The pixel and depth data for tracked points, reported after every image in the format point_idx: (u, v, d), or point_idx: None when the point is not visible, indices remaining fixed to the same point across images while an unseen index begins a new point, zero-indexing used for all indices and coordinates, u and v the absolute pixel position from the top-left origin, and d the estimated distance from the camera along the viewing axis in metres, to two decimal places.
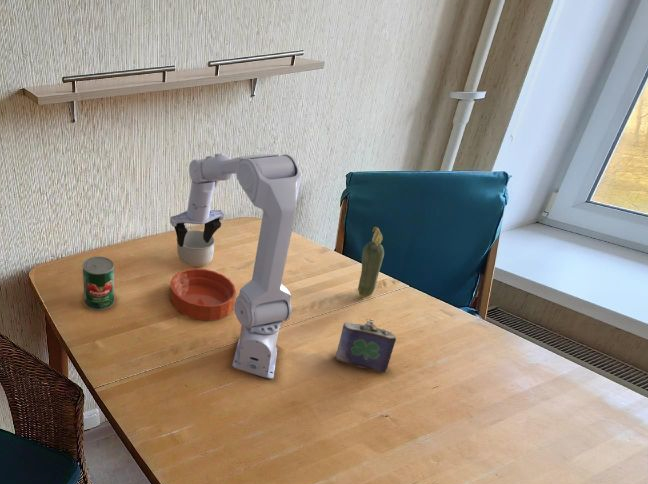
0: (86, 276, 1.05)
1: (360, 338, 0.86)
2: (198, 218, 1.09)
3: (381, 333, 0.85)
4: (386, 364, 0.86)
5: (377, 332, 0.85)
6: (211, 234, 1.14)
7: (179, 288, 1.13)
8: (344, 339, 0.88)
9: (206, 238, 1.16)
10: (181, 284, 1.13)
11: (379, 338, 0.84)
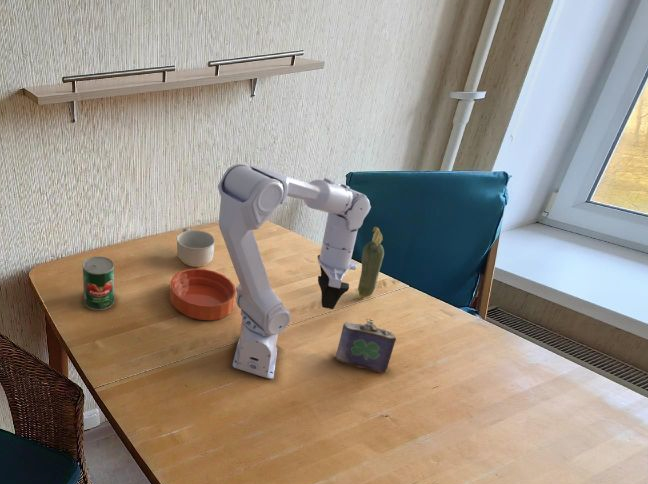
0: (86, 276, 1.05)
1: (360, 338, 0.86)
2: None
3: (381, 333, 0.85)
4: (386, 364, 0.86)
5: (377, 332, 0.85)
6: None
7: (179, 288, 1.13)
8: (344, 339, 0.88)
9: None
10: (181, 284, 1.13)
11: (379, 338, 0.84)
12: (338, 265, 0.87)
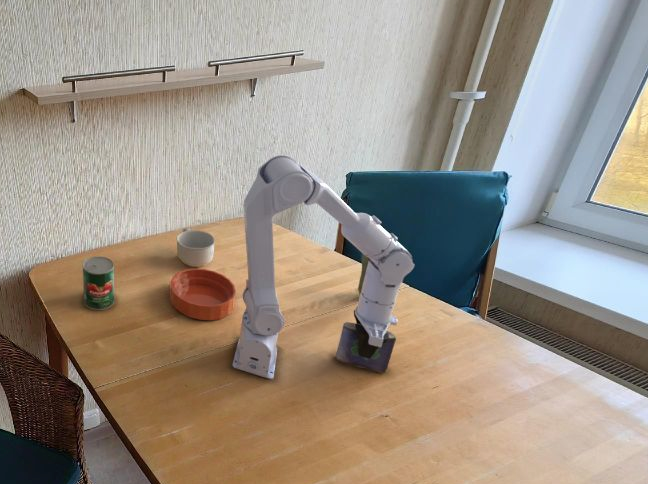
0: (86, 276, 1.05)
1: None
2: None
3: None
4: (386, 364, 0.86)
5: None
6: (358, 341, 0.86)
7: (179, 288, 1.13)
8: (344, 339, 0.88)
9: None
10: (181, 284, 1.13)
11: None
12: (378, 320, 0.82)
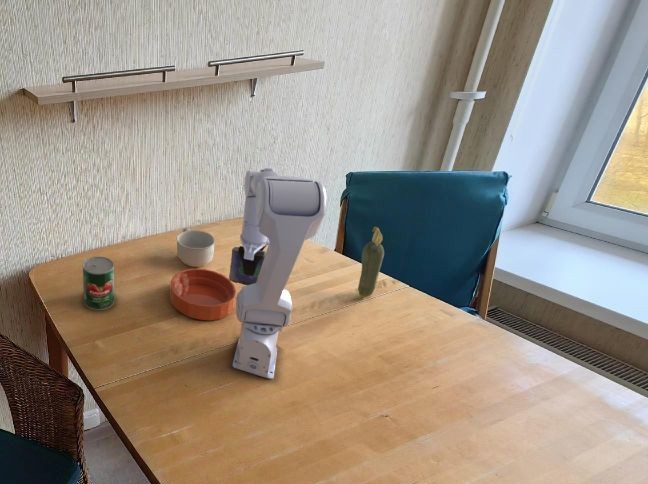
0: (86, 276, 1.05)
1: None
2: None
3: None
4: None
5: None
6: None
7: (179, 288, 1.13)
8: (233, 261, 1.03)
9: None
10: (181, 284, 1.13)
11: None
12: (254, 240, 0.97)
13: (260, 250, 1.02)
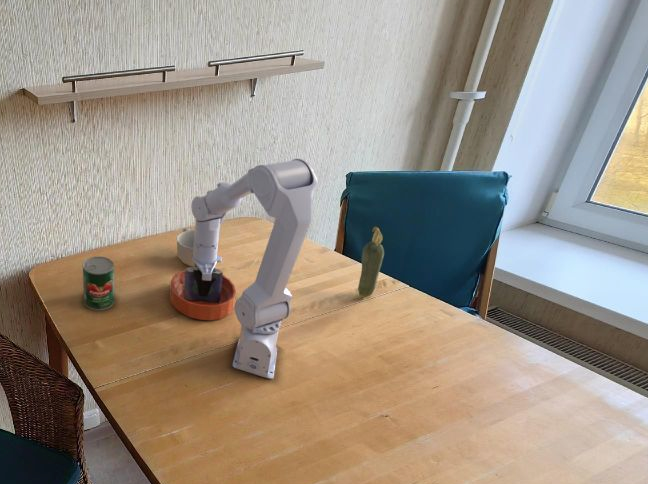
0: (86, 276, 1.05)
1: None
2: None
3: (212, 271, 1.06)
4: (218, 295, 1.07)
5: None
6: (197, 284, 1.04)
7: (179, 288, 1.13)
8: (187, 281, 1.07)
9: None
10: (181, 284, 1.13)
11: None
12: (208, 260, 1.02)
13: None
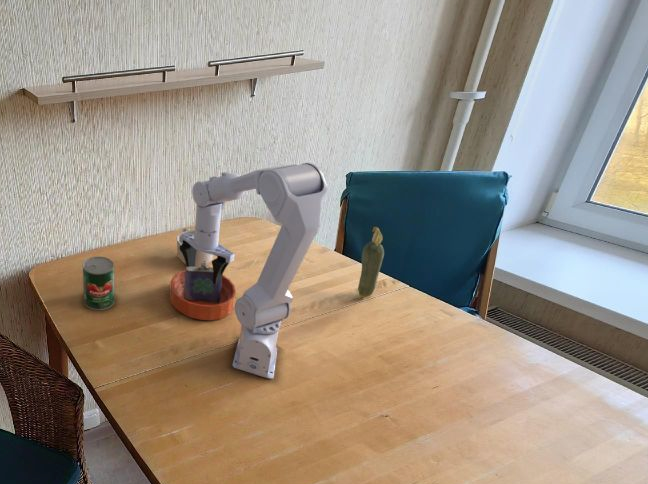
0: (86, 276, 1.05)
1: (198, 277, 1.06)
2: (195, 242, 1.02)
3: (212, 270, 1.06)
4: (218, 295, 1.07)
5: (209, 270, 1.06)
6: (215, 273, 1.02)
7: (179, 288, 1.13)
8: (187, 281, 1.07)
9: None
10: (181, 284, 1.13)
11: (211, 274, 1.05)
12: (217, 244, 1.02)
13: (196, 249, 1.09)
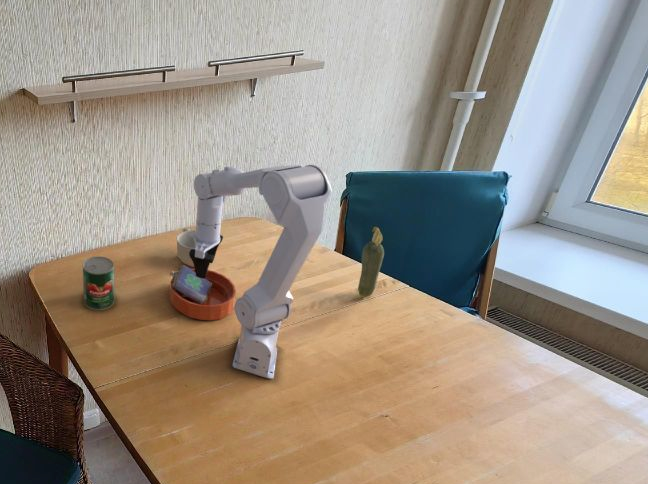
0: (86, 276, 1.05)
1: (184, 279, 1.09)
2: (217, 238, 1.00)
3: (179, 270, 1.12)
4: None
5: (179, 271, 1.11)
6: None
7: None
8: (185, 288, 1.06)
9: None
10: None
11: (183, 270, 1.11)
12: None
13: None
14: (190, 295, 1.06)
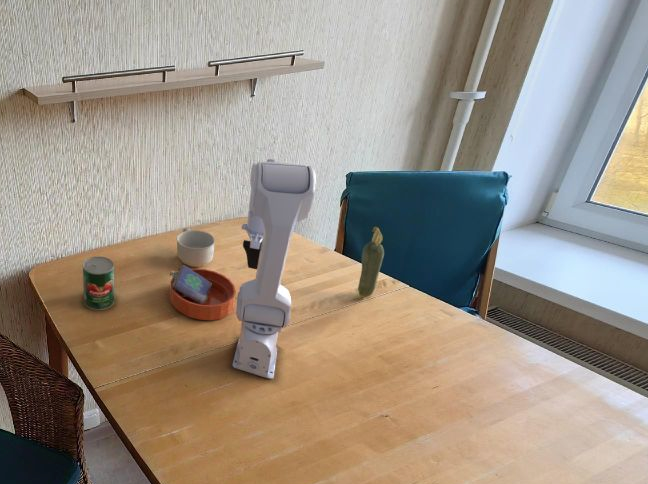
0: (86, 276, 1.05)
1: (184, 279, 1.09)
2: None
3: (179, 270, 1.12)
4: (204, 278, 1.12)
5: (179, 271, 1.11)
6: None
7: None
8: (185, 288, 1.06)
9: None
10: None
11: (183, 270, 1.11)
12: None
13: None
14: (190, 295, 1.06)
